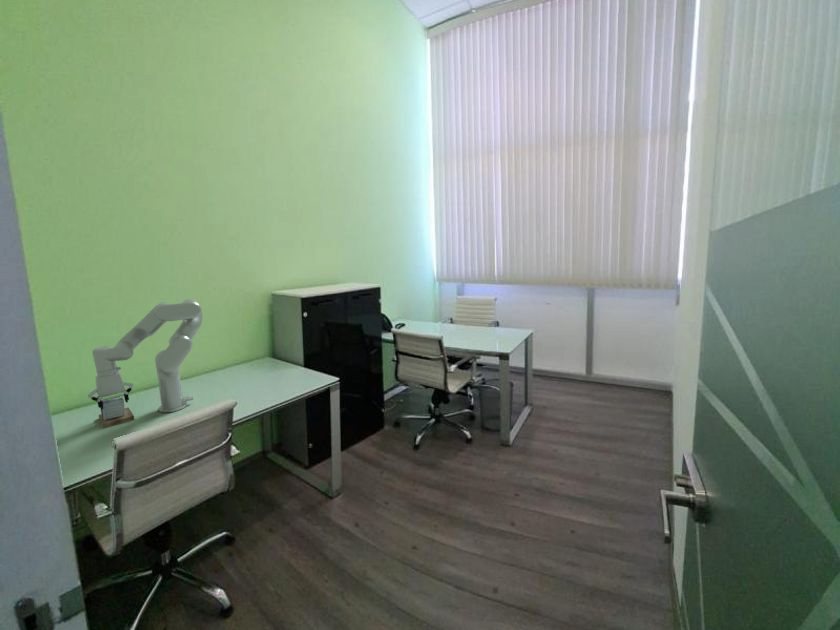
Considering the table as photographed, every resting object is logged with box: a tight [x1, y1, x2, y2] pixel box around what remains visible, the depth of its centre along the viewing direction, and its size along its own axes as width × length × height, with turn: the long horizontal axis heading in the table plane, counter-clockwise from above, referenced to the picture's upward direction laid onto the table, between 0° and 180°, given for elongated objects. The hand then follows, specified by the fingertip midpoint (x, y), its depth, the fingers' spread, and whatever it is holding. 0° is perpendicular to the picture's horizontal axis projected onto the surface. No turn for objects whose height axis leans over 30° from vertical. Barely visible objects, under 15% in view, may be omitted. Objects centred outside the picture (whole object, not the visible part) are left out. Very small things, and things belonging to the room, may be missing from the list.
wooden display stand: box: [98, 395, 135, 429], centre depth 186 cm, size 12×14×10 cm
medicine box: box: [102, 396, 125, 420], centre depth 184 cm, size 8×4×9 cm, turn 138°
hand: (114, 405), depth 184 cm, fingers open, 9 cm apart
